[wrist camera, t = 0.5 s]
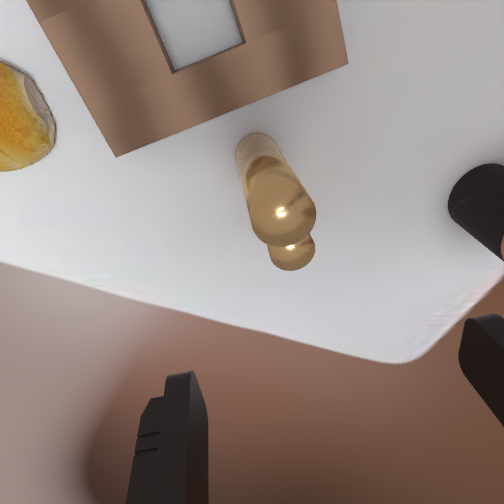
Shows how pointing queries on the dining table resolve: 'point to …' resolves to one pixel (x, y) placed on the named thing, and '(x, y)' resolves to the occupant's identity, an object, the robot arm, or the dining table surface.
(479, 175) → the travel mug
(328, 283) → the dining table surface
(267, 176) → the tall pin
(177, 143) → the dining table surface
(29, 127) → the bread roll
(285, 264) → the short pin
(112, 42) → the hole board
